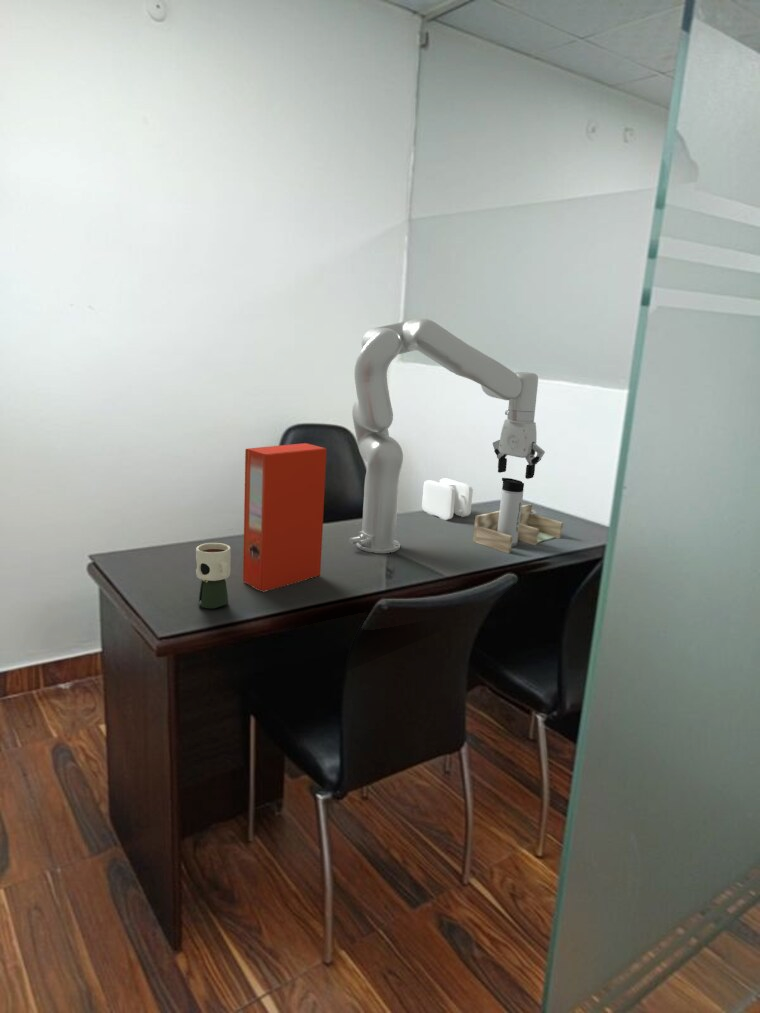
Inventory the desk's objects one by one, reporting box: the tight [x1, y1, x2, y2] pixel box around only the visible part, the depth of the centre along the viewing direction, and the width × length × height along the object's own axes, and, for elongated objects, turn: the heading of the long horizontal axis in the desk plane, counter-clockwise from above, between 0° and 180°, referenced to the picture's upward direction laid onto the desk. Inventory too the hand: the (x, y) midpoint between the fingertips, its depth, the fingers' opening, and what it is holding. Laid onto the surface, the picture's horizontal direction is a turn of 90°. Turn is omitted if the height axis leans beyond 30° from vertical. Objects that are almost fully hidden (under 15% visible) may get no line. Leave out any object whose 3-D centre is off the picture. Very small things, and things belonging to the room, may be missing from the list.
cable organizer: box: [421, 477, 473, 521], centre depth 227 cm, size 15×11×12 cm
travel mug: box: [497, 477, 525, 548], centre depth 198 cm, size 6×7×20 cm
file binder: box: [242, 442, 327, 591], centre depth 157 cm, size 8×17×32 cm, turn 136°
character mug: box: [195, 542, 232, 609], centre depth 142 cm, size 11×7×13 cm, turn 41°
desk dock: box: [472, 503, 564, 554], centre depth 204 cm, size 28×13×8 cm, turn 134°
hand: (515, 474), depth 195 cm, fingers open, 9 cm apart
